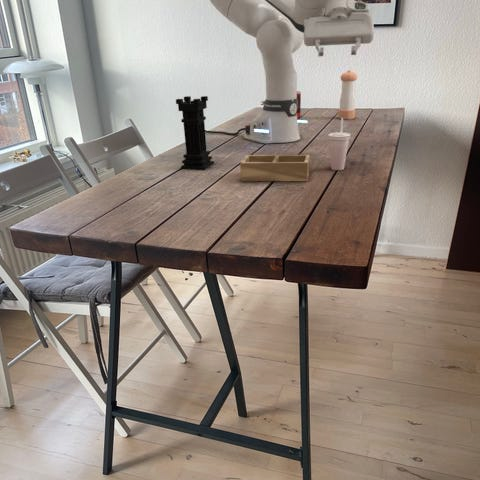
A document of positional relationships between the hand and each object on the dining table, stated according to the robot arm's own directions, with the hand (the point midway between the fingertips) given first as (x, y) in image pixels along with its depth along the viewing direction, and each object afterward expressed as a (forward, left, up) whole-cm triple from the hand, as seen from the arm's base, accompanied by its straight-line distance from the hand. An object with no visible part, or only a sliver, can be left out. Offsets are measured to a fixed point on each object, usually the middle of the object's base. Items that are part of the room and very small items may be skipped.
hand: (337, 54), depth 145 cm
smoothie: (+10, -10, -30) cm, 33 cm away
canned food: (-63, +53, -30) cm, 87 cm away
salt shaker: (-41, +65, -30) cm, 82 cm away
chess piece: (-27, -33, -30) cm, 52 cm away
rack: (+1, -28, -29) cm, 41 cm away
